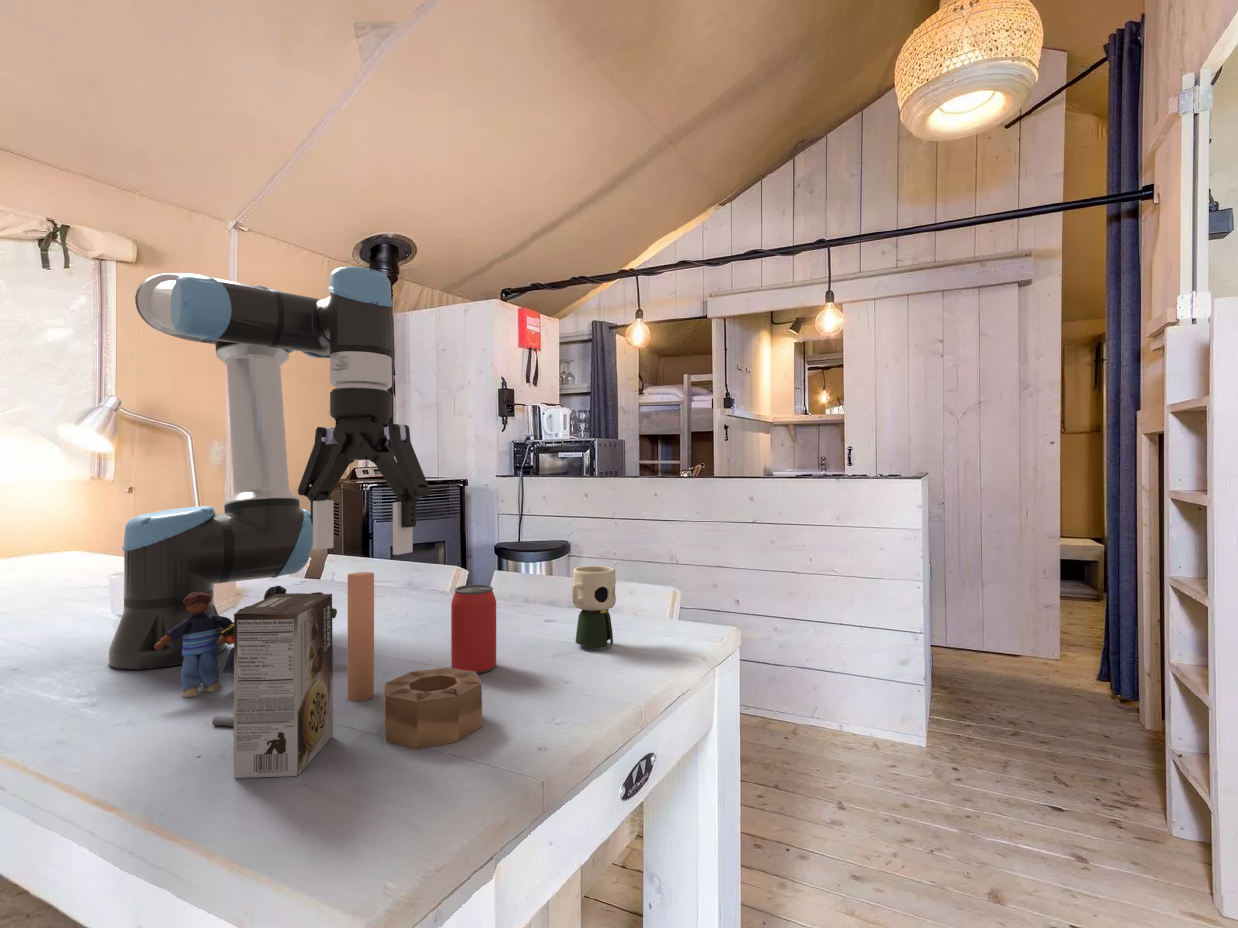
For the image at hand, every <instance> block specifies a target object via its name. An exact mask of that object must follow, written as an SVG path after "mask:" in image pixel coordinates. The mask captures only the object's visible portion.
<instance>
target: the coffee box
mask: <svg viewBox="0 0 1238 928" xmlns="http://www.w3.org/2000/svg"><path fill="white" fill-rule="evenodd" d="M248 606H249V607H247V606H246V607H247V608H245V607H244V608H245V609H243V610H241V611H239V610H238V611H239V612H237V611H236V612H235V613H234V614H233V622H234V644H233V647H234V675H233V717H234V726H233V778H235V779H252V778H253V779H255V778H280V777H281V778H285V777H298V776H300V775H301V774H302V773H303V771H304V770H305V769H306V768H307V766H308V765H309V764H310V763H311V762H312V761H313V759H314V758H315V757H316V756H317V755H318V753H319V752H320V751H321V750H322V749H323V748H324V747H325V745H326V744H327V743H328V742H329V741H330V739H331V738H332V737H333V735H334V723H333V721H334V719H333V718H334V717H333V716H334V714H333V712H334V711H333V709H334V708H333V704H334V700H333V699H334V697H333V696H334V695H333V694H334V693H333V692H334V691H333V669H334V668H333V665H334V664H333V662H334V659H333V657H334V655H333V653H334V652H333V618H332V608H333V593H323V594H310V593H303V592H300V593H299V592H298V593H297V592H295V593H294V592H293V593H292V592H291V593H288V592H286V594H275V595H273V596H271V597H268V598H266V599H264V598H263V599H262V600H260V601H257V602H256V603H254V604H252V605H248Z"/></svg>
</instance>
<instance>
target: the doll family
mask: <svg viewBox="0 0 1238 928" xmlns="http://www.w3.org/2000/svg"><path fill="white" fill-rule="evenodd" d="M286 593H287V589H286V588H285V587H283V586H282V585H275V586H271V587H269V588H268V589H267V590H266V591H265V593H264V596H263V600H264V599H266V598H268V597H271V596H273V595H275V594H286ZM309 594H324V592H321V591H319V592H310V593H309ZM211 600H212V597H211V595H209V594H207V593H202V592H200V593H198V592H193V593H190V594H189V595H188V596H187V597H185V598H184V600H183V603H184V604H185V605H186V607H187V610H188V611H189V612H190V613H192V614H193V615H192V616H191V617H190V618H189V619H186V620H184V621H183V622H181V623H180V624H178V625H176V626H175V627H174V628H172V629H171V630H169V631H168V632H166V635H165V636H164V637H163V638H161V639H160V641H159V642H158V643H156V644H155V645H154V648H155V649H156V650H161V649H162V648H163V647H164V646H165V645H167V644H168V643H169V642H170V641H171V642H172V643H173V642H175V641H176V640H178V639H179V638H180V637H182V635H183V647H182V656H184V660H183V664H181V665H182V666H181V671H180V683H181V691H182V692H181V696H182V697H183V698H190V697H192V698H193V697H196V696H198V695H200V694H201V691H200V690H199V689H198V688H201V689H202V690H203V691H205V692H213V691H214V692H215V691H219V690H220V689H222V684H220V681H221V680H220V664H219V660H218V653H217V654H216V649H218V648H219V645H222V644H224V643H226V645H227V646H230V645H232V644H233V645H234V621H232V619H230V618H228V616H222V615H219V614H218V615H211V616H209V615H207V614H205V613H204V611H205V610H206V609H207V607H208V605H209V602H210V601H211ZM249 606H250V605H248V606H245V607H243V608H240V609H238V610H237V611H236V613H237V612H239V611H241V610H243V609H245V608H247V607H249ZM337 614H338V609H337V608H333V607H332V619H335V618H336V617H337ZM219 627H221V628H223V629H221V630H220V628H219ZM219 634H222V636H223V637H221V638H219ZM221 673H222V674H224V675H229V676H234V646H233V647H232V648H231V649H230V650H229V652H228V654H227V655H226V659H225V663H224V665H223V669H222V671H221ZM201 685H202V687H201Z"/></svg>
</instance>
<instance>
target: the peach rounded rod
mask: <svg viewBox="0 0 1238 928" xmlns="http://www.w3.org/2000/svg"><path fill="white" fill-rule="evenodd" d="M374 696H375V573H374V572H371V571H369V572H368V571H362V572H361V571H360V572H359V571H358V572H352V573H349V574H347V700H349V701H352V702H360V701H367V700H369V699H371V698H373V697H374Z"/></svg>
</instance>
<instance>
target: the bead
mask: <svg viewBox="0 0 1238 928" xmlns="http://www.w3.org/2000/svg"><path fill="white" fill-rule="evenodd" d="M482 689H483V683H482V680H481V679H480V677H479V676H478V674H477V673H476V672H474V671H468V670H461V669H454V668H452V667H439V668H430V669H423V670H415V671H413V670H412V671H409V672H407V673H405V674H402V675H400V676H397V677H396V678H393V679H391V680H388V681H387V682H384V736H385V742H386V743H389V744H395V745H398V746H399V745H400V746H405V747H409V748H412V749H423V748H428V747H435V746H441V745H447V744H452V743H453V744H454V743H459V742H461V741H462V740H463V739H465V738H466V737H468V736H469V735H471V734H472V733H474V732H476V731H477V730H479V729H480V728H482V727H483V717H482V716H483V702H482V701H483V700H482V699H483V691H482Z"/></svg>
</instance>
